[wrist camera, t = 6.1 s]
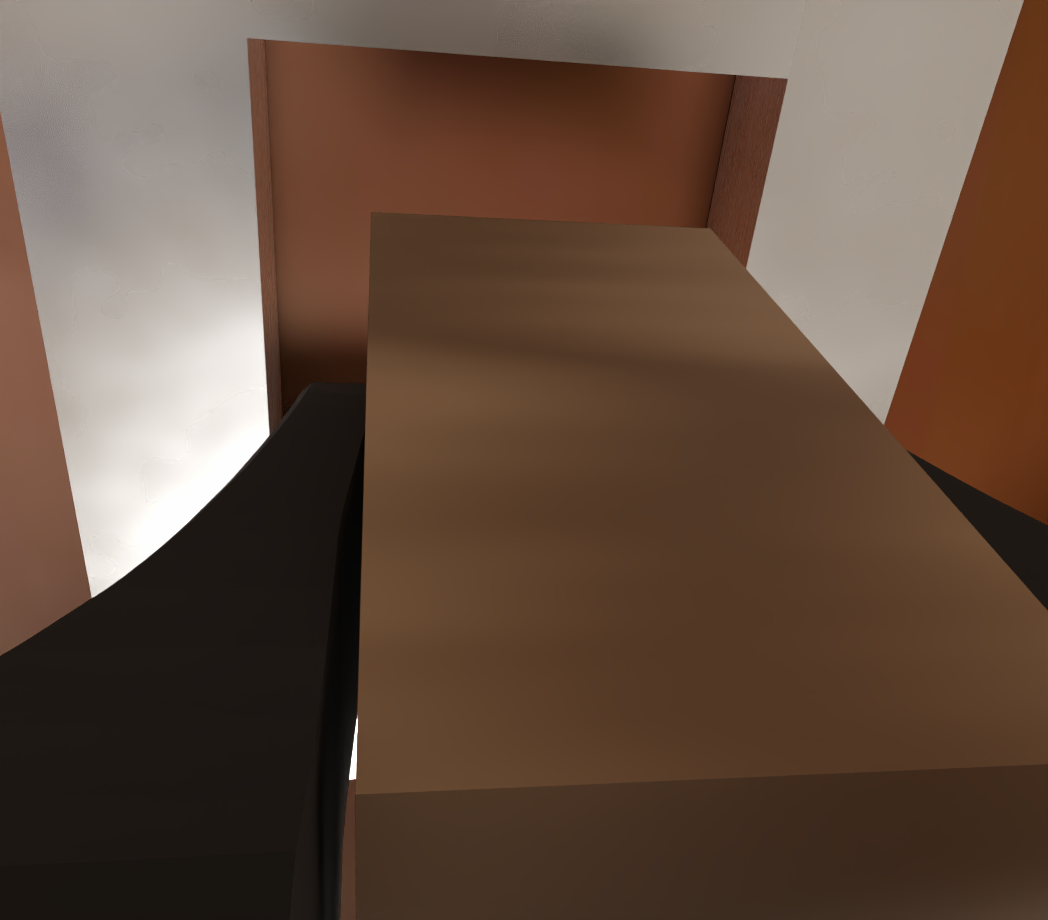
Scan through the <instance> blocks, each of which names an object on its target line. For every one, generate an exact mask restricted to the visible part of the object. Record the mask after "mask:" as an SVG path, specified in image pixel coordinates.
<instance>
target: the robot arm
mask: <svg viewBox="0 0 1048 920" xmlns="http://www.w3.org/2000/svg"><path fill="white" fill-rule="evenodd" d="M366 385H367V384H364V383H319V382H312V383H311V384H310V385H309V386H307V387H306V388H305V389H304V390H303V391H302V392H301V393H300V395H299V396H298V398H297V399H296V401H295V402H294V404H293V405H292V406H291V408H290V409H289V411H288V412H287V413H286V415H285V416H284V417H283V419H282V420H281V421H280V423H279V424H278V425H277V426H276V428H275V429H274V430H273V432H272V433H271V434H270V435H269V437H268V438H267V439H266V440H265V442H264V443H263V444H262V445H261V446H260V447H259V448H258V450H257V451H256V452H255V453H254V454H253V455H252V456H251V458H250V459H249V460H248V461H247V462H246V463H245V465H244V466H243V467H242V468H241V469H240V470H239V471H238V473H237V474H236V475H235V476H234V477H233V478H232V479H231V480H230V481H229V482H228V483H227V484H226V486H225V487H224V488H223V489H221V490H220V491H219V492H218V493H217V494H216V495H215V496H214V497H213V498H212V499H211V500H210V501H209V502H208V503H207V504H206V505H205V506H204V507H203V508H202V509H201V510H200V511H199V512H198V513H197V514H196V515H195V516H194V517H193V518H192V519H191V520H190V521H189V522H188V523H187V524H186V525H185V526H184V527H183V528H181V529H180V530H179V531H178V532H177V533H176V534H175V535H174V536H172V537H171V538H170V539H169V540H168V541H167V542H166V543H164V544H163V545H162V546H161V547H160V548H159V549H158V550H156V551H155V552H154V553H153V554H152V555H150V556H149V557H148V558H147V559H146V560H144V561H143V562H142V563H140V564H139V565H138V566H136V567H135V568H134V569H133V570H131V571H130V572H129V573H127V574H126V575H125V576H124V577H122V578H121V579H119V580H118V581H117V582H115V583H114V584H112V585H111V586H110V587H108V588H107V589H105V590H104V591H102V592H101V593H99V594H98V595H96V596H95V597H93V598H91V599H90V600H88V601H87V602H85V603H84V604H82V605H81V606H79V607H78V608H76V609H74V610H73V611H71V612H70V613H68V614H67V615H65V616H64V617H62V618H61V619H59V620H57V621H56V622H54V623H53V624H51V625H50V626H48V627H47V628H45V629H43V630H42V631H40V632H39V633H37V634H36V635H34V636H33V637H31V638H30V639H28V640H26V641H25V642H23V643H22V644H20V645H18V646H16V647H15V648H13V649H11V650H10V651H8V652H6V653H4V654H3V655H1V656H0V920H340V908H341V877H342V847H343V835H344V823H345V811H346V801H347V793H348V785H349V778H350V770H351V762H352V754H353V747H354V739H355V731H356V723H357V713H358V676H359V640H360V603H361V567H362V530H363V494H364V458H365V421H366ZM906 451H907V450H906ZM907 452H908V453H909V454H910V455H911V456H912V458H913V459H914V460H915V461H916V462H917V463H918V464H919V465H920V467H921V468H922V469H923V470H924V471H925V472H926V473H927V475H928V476H929V477H930V478H931V479H932V480H933V481H934V482H935V484H936V485H937V486H938V487H939V488H940V489H941V490H942V492H943V493H944V494H945V495H946V496H947V497H948V498H949V499H950V501H951V502H952V503H953V504H954V505H955V506H956V507H957V509H958V510H959V511H960V512H961V513H962V514H963V515H964V516H965V518H966V519H967V520H968V521H969V522H970V523H971V524H972V526H973V527H974V528H975V529H976V530H977V531H978V532H979V533H980V535H981V536H982V537H983V538H984V539H985V540H986V541H987V543H988V544H989V545H990V546H991V547H992V548H993V549H994V550H995V552H996V553H997V554H998V555H999V556H1000V557H1001V558H1002V560H1003V561H1004V562H1005V563H1006V564H1007V565H1008V566H1009V567H1010V569H1011V570H1012V571H1013V572H1014V573H1015V574H1016V575H1017V577H1018V578H1019V579H1020V580H1021V581H1022V582H1023V583H1024V584H1025V586H1026V587H1027V588H1028V589H1029V590H1030V591H1031V592H1032V594H1033V595H1034V596H1035V597H1036V598H1037V599H1038V600H1039V601H1040V603H1041V604H1042V605H1043V606H1044V607H1045V608H1046V609H1047V611H1048V526H1047V525H1045V524H1043V523H1041V522H1039V521H1038V520H1036V519H1034V518H1032V517H1030V516H1028V515H1026V514H1024V513H1022V512H1020V511H1018V510H1016V509H1014V508H1012V507H1010V506H1008V505H1006V504H1004V503H1002V502H1000V501H998V500H996V499H994V498H992V497H990V496H988V495H987V494H985V493H983V492H981V491H979V490H977V489H975V488H973V487H972V486H970V485H968V484H966V483H964V482H962V481H961V480H959V479H957V478H955V477H953V476H951V475H950V474H948V473H946V472H944V471H942V470H941V469H939V468H937V467H935V466H934V465H932V464H930V463H928V462H926V461H925V460H923V459H921V458H919V457H918V456H916V455H914V454H912V453H911V452H909V451H907Z"/></svg>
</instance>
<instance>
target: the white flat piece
mask: <svg viewBox="0 0 1048 920" xmlns="http://www.w3.org/2000/svg"><path fill="white" fill-rule="evenodd" d="M1023 1H1024V0H0V111H1V117H2V122H3V127H4V133H5V138H6V143H7V149H8V154H9V159H10V165H11V170H12V175H13V181H14V186H15V191H16V197H17V202H18V207H19V213H20V218H21V223H22V228H23V234H24V239H25V244H26V250H27V255H28V260H29V266H30V271H31V276H32V282H33V287H34V292H35V298H36V303H37V308H38V314H39V319H40V324H41V330H42V335H43V340H44V346H45V351H46V356H47V362H48V367H49V372H50V378H51V383H52V388H53V394H54V399H55V404H56V409H57V415H58V420H59V425H60V431H61V436H62V441H63V447H64V452H65V457H66V463H67V468H68V473H69V479H70V484H71V489H72V495H73V500H74V505H75V511H76V516H77V521H78V527H79V532H80V537H81V543H82V548H83V553H84V559H85V564H86V569H87V575H88V580H89V585H90V591H91V596H92V598H93V597H95V596H96V595H98V594H99V593H101V592H102V591H104V590H105V589H107V588H108V587H110V586H111V585H112V584H114V583H115V582H117V581H118V580H119V579H121V578H122V577H124V576H125V575H126V574H127V573H129V572H130V571H131V570H133V569H134V568H135V567H136V566H138V565H139V564H140V563H142V562H143V561H144V560H146V559H147V558H148V557H149V556H150V555H152V554H153V553H154V552H155V551H156V550H158V549H159V548H160V547H161V546H162V545H163V544H164V543H166V542H167V541H168V540H169V539H170V538H171V537H172V536H174V535H175V534H176V533H177V532H178V531H179V530H180V529H181V528H183V527H184V526H185V525H186V524H187V523H188V522H189V521H190V520H191V519H192V518H193V517H194V516H195V515H196V514H197V513H198V512H199V511H200V510H201V509H202V508H203V507H204V506H205V505H206V504H207V503H208V502H209V501H210V500H211V499H212V498H213V497H214V496H215V495H216V494H217V493H218V492H219V491H220V490H221V489H223V488H224V487H225V486H226V484H227V483H228V482H229V481H230V480H231V479H232V478H233V477H234V476H235V475H236V474H237V473H238V471H239V470H240V469H241V468H242V467H243V466H244V465H245V463H246V462H247V461H248V460H249V459H250V458H251V456H252V455H253V454H254V453H255V452H256V451H257V450H258V448H259V447H260V446H261V445H262V444H263V443H264V442H265V440H266V439H267V438H268V437H269V435H270V434H271V433H272V432H273V430H274V429H275V428H276V426H277V425H278V424H279V423H280V421H281V420H282V419H283V415H282V394H281V373H280V352H279V331H278V310H277V289H276V268H275V247H274V225H273V204H272V183H271V162H270V141H269V120H268V99H267V78H266V57H265V39H266V40H280V41H293V42H306V43H319V44H333V45H346V46H359V47H373V48H386V49H399V50H412V51H426V52H439V53H452V54H465V55H479V56H492V57H505V58H519V59H532V60H545V61H558V62H572V63H585V64H598V65H612V66H625V67H638V68H651V69H665V70H678V71H691V72H705V73H718V74H731V75H736V79H735V85H734V90H733V95H732V100H731V105H730V110H729V115H728V121H727V126H726V131H725V136H724V141H723V146H722V151H721V157H720V162H719V167H718V172H717V177H716V182H715V187H714V193H713V198H712V203H711V208H710V213H709V218H708V223H707V228H710V229H711V230H712V231H713V232H714V233H715V234H716V235H717V237H718V238H719V239H720V240H721V241H722V242H723V243H724V245H725V246H726V247H727V248H728V249H729V250H730V251H731V252H732V254H733V255H734V256H735V257H736V258H737V259H738V260H739V262H740V263H741V264H742V265H743V266H744V267H745V268H746V269H747V271H748V272H749V273H750V274H751V275H752V276H753V277H754V279H755V280H756V281H757V282H758V283H759V284H760V285H761V286H762V288H763V289H764V290H765V291H766V292H767V293H768V294H769V296H770V297H771V298H772V299H773V300H774V301H775V302H776V303H777V305H778V306H779V307H780V308H781V309H782V310H783V311H784V313H785V314H786V315H787V316H788V317H789V318H790V319H791V320H792V322H793V323H794V324H795V325H796V326H797V327H798V328H799V330H800V331H801V332H802V333H803V334H804V335H805V336H806V337H807V339H808V340H809V341H810V342H811V343H812V344H813V345H814V347H815V348H816V349H817V350H818V351H819V352H820V353H821V354H822V356H823V357H824V358H825V359H826V360H827V361H828V362H829V364H830V365H831V366H832V367H833V368H834V369H835V370H836V371H837V373H838V374H839V375H840V376H841V377H842V378H843V379H844V380H845V382H846V383H847V384H848V385H849V386H850V387H851V388H852V390H853V391H854V392H855V393H856V394H857V395H858V396H859V397H860V399H861V400H862V401H863V402H864V403H865V404H866V405H867V407H868V408H869V409H870V410H871V411H872V412H873V413H874V414H875V416H876V417H877V418H878V419H879V420H880V421H881V422H882V424H883V425H884V423H885V420H886V417H887V414H888V411H889V408H890V404H891V401H892V398H893V395H894V392H895V389H896V386H897V383H898V380H899V377H900V374H901V371H902V368H903V365H904V362H905V359H906V356H907V353H908V350H909V347H910V344H911V341H912V338H913V335H914V332H915V329H916V326H917V323H918V320H919V317H920V313H921V310H922V307H923V304H924V301H925V298H926V295H927V292H928V289H929V286H930V283H931V280H932V277H933V274H934V271H935V268H936V265H937V262H938V259H939V256H940V253H941V250H942V247H943V244H944V241H945V238H946V235H947V232H948V229H949V225H950V222H951V219H952V216H953V213H954V210H955V207H956V204H957V201H958V198H959V195H960V192H961V189H962V186H963V183H964V180H965V177H966V174H967V171H968V168H969V165H970V162H971V159H972V156H973V153H974V150H975V147H976V144H977V141H978V138H979V134H980V131H981V128H982V125H983V122H984V119H985V116H986V113H987V110H988V107H989V104H990V101H991V98H992V95H993V92H994V89H995V86H996V83H997V80H998V77H999V74H1000V71H1001V68H1002V65H1003V62H1004V59H1005V56H1006V53H1007V50H1008V47H1009V43H1010V40H1011V37H1012V34H1013V31H1014V28H1015V25H1016V22H1017V19H1018V16H1019V13H1020V10H1021V7H1022V4H1023ZM356 749H357V723H356V731H355V739H354V747H353V754H352V762H351V770H350V778H349V779H356Z"/></svg>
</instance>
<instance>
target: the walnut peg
mask: <svg viewBox="0 0 1048 920" xmlns="http://www.w3.org/2000/svg"><path fill="white" fill-rule="evenodd" d="M355 841H356V920H1048V611H1047V609H1046V608H1045V607H1044V606H1043V605H1042V604H1041V603H1040V601H1039V600H1038V599H1037V598H1036V597H1035V596H1034V595H1033V594H1032V592H1031V591H1030V590H1029V589H1028V588H1027V587H1026V586H1025V584H1024V583H1023V582H1022V581H1021V580H1020V579H1019V578H1018V577H1017V575H1016V574H1015V573H1014V572H1013V571H1012V570H1011V569H1010V567H1009V566H1008V565H1007V564H1006V563H1005V562H1004V561H1003V560H1002V558H1001V557H1000V556H999V555H998V554H997V553H996V552H995V550H994V549H993V548H992V547H991V546H990V545H989V544H988V543H987V541H986V540H985V539H984V538H983V537H982V536H981V535H980V533H979V532H978V531H977V530H976V529H975V528H974V527H973V526H972V524H971V523H970V522H969V521H968V520H967V519H966V518H965V516H964V515H963V514H962V513H961V512H960V511H959V510H958V509H957V507H956V506H955V505H954V504H953V503H952V502H951V501H950V499H949V498H948V497H947V496H946V495H945V494H944V493H943V492H942V490H941V489H940V488H939V487H938V486H937V485H936V484H935V482H934V481H933V480H932V479H931V478H930V477H929V476H928V475H927V473H926V472H925V471H924V470H923V469H922V468H921V467H920V465H919V464H918V463H917V462H916V461H915V460H914V459H913V458H912V456H911V455H910V454H909V453H908V452H907V451H906V450H905V448H904V447H903V446H902V445H901V444H900V443H899V442H898V441H897V439H896V438H895V437H894V436H893V435H892V434H891V433H890V431H889V430H888V429H887V428H886V427H885V426H884V425H883V424H882V422H881V421H880V420H879V419H878V418H877V417H876V416H875V414H874V413H873V412H872V411H871V410H870V409H869V408H868V407H867V405H866V404H865V403H864V402H863V401H862V400H861V399H860V397H859V396H858V395H857V394H856V393H855V392H854V391H853V390H852V388H851V387H850V386H849V385H848V384H847V383H846V382H845V380H844V379H843V378H842V377H841V376H840V375H839V374H838V373H837V371H836V370H835V369H834V368H833V367H832V366H831V365H830V364H829V362H828V361H827V360H826V359H825V358H824V357H823V356H822V354H821V353H820V352H819V351H818V350H817V349H816V348H815V347H814V345H813V344H812V343H811V342H810V341H809V340H808V339H807V337H806V336H805V335H804V334H803V333H802V332H801V331H800V330H799V328H798V327H797V326H796V325H795V324H794V323H793V322H792V320H791V319H790V318H789V317H788V316H787V315H786V314H785V313H784V311H783V310H782V309H781V308H780V307H779V306H778V305H777V303H776V302H775V301H774V300H773V299H772V298H771V297H770V296H769V294H768V293H767V292H766V291H765V290H764V289H763V288H762V286H761V285H760V284H759V283H758V282H757V281H756V280H755V279H754V277H753V276H752V275H751V274H750V273H749V272H748V271H747V269H746V268H745V267H744V266H743V265H742V264H741V263H740V262H739V260H738V259H737V258H736V257H735V256H734V255H733V254H732V252H731V251H730V250H729V249H728V248H727V247H726V246H725V245H724V243H723V242H722V241H721V240H720V239H719V238H718V237H717V235H716V234H715V233H714V232H713V231H712V230H711V229H710V228H690V227H669V226H648V225H627V224H606V223H585V222H565V221H544V220H523V219H502V218H481V217H460V216H440V215H419V214H398V213H377V212H371V239H370V275H369V312H368V348H367V385H366V421H365V458H364V494H363V530H362V567H361V603H360V640H359V676H358V713H357V749H356V786H355Z"/></svg>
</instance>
